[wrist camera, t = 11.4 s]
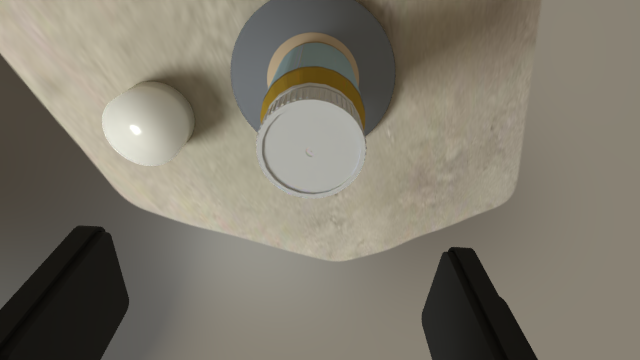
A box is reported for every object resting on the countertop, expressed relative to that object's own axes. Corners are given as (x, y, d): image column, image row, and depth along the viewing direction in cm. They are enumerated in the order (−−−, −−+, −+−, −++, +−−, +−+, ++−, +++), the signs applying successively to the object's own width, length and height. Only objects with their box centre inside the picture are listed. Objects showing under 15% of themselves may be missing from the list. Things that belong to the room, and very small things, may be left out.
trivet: (229, -20, 30) (226, -20, 29) (408, -4, 30) (411, -3, 30) (235, 145, 37) (233, 149, 36) (379, 155, 38) (380, 160, 37)
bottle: (264, 57, 32) (224, 117, 19) (338, 27, 31) (351, 70, 18) (294, 126, 35) (279, 218, 22) (363, 102, 34) (389, 184, 21)
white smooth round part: (116, 78, 34) (93, 90, 31) (191, 83, 34) (177, 96, 31) (130, 145, 38) (111, 163, 34) (198, 150, 38) (186, 168, 34)
